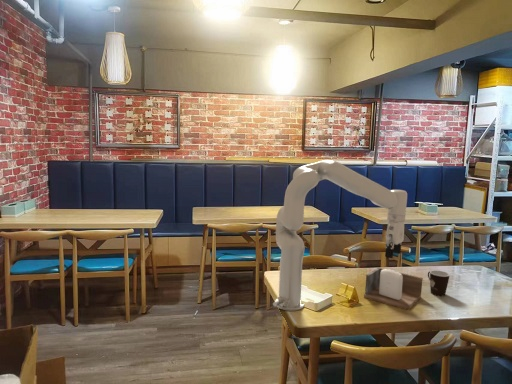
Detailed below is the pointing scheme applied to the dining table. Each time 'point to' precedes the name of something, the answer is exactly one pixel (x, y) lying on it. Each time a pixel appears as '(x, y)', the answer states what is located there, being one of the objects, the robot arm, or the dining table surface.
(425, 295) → the dining table surface
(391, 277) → the white upright block
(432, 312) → the dining table surface
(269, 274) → the dining table surface
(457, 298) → the dining table surface
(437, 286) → the coffee mug
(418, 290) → the shelf
